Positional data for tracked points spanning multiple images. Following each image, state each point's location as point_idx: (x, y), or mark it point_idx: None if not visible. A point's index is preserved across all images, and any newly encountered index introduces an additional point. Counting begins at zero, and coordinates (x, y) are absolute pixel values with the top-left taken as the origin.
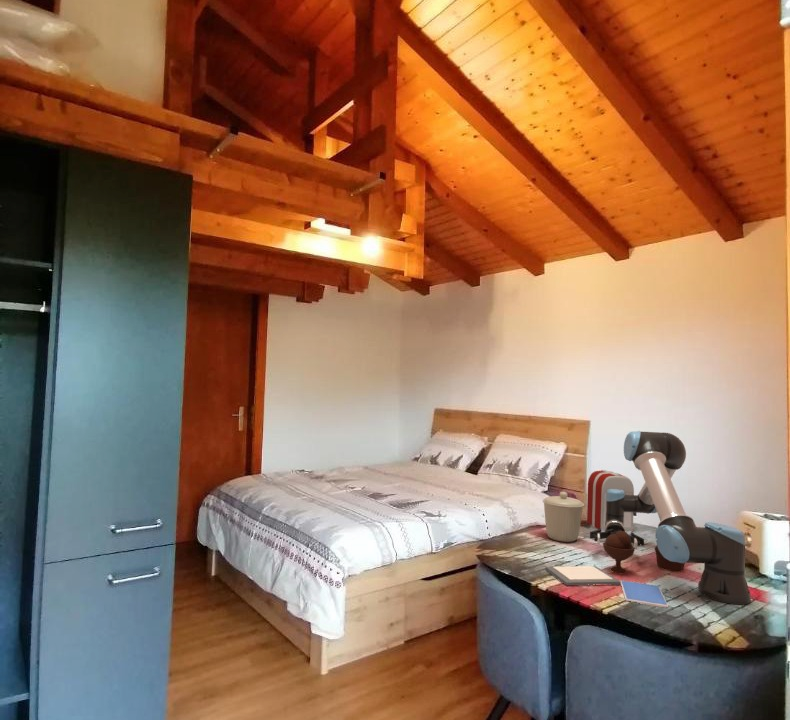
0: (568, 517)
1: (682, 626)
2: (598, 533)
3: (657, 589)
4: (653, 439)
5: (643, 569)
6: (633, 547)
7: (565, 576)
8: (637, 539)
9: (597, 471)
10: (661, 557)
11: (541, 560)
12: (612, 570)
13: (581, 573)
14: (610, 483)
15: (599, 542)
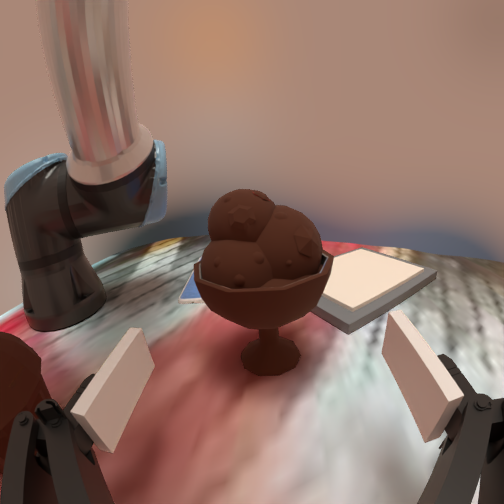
0: None
1: (205, 241)
2: (464, 414)
3: (190, 286)
4: None
5: (154, 409)
6: (198, 265)
7: (375, 254)
8: (65, 417)
9: None
10: (44, 396)
11: (490, 310)
12: (291, 341)
13: (356, 268)
14: None
15: (384, 341)
